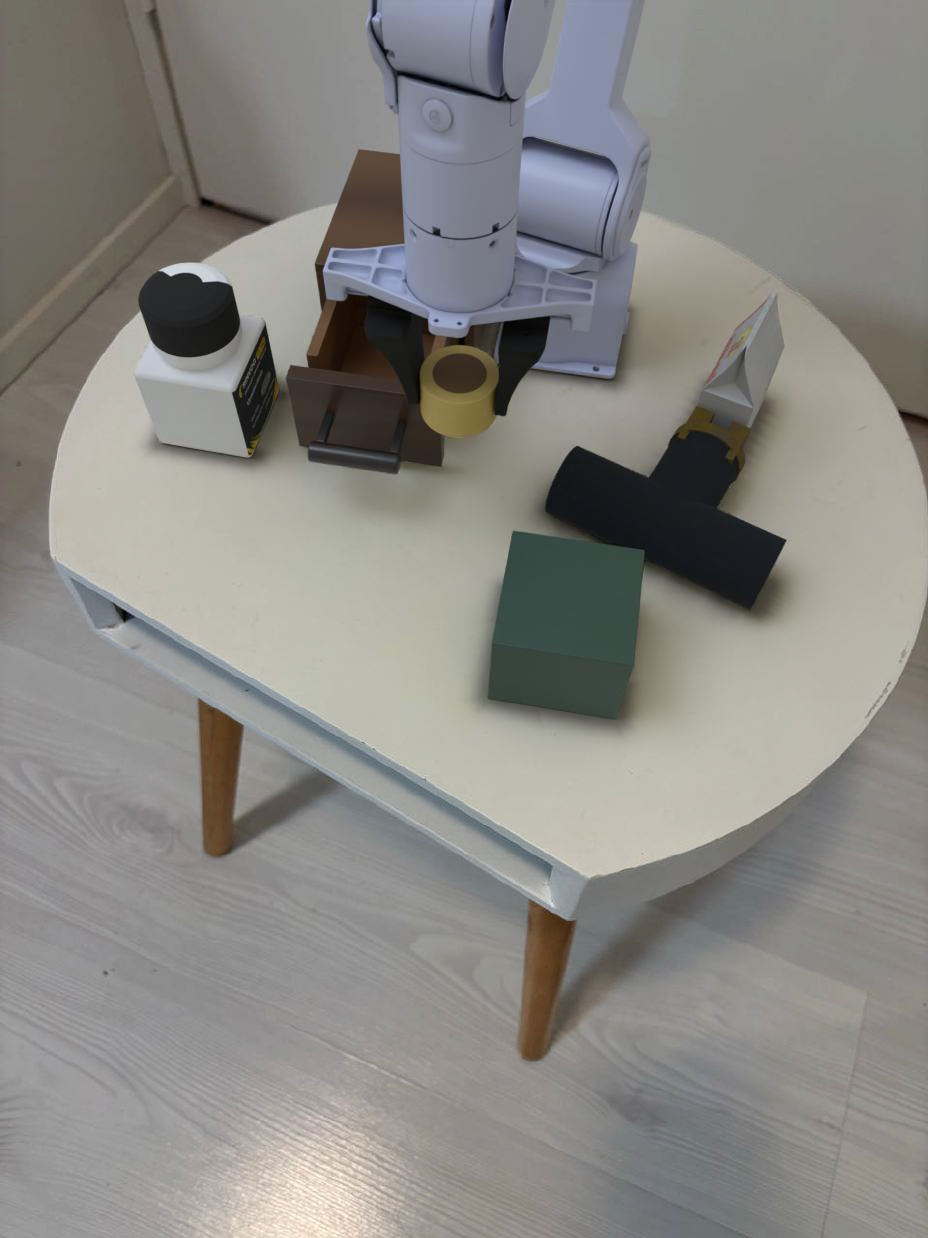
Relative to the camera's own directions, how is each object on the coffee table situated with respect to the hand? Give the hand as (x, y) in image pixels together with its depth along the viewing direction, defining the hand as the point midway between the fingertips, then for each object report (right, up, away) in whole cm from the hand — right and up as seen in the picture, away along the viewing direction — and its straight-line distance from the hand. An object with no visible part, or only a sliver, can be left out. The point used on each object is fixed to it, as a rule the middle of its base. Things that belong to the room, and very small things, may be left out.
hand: (458, 397), depth 59 cm
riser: (+6, -16, +3) cm, 17 cm away
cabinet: (-3, +12, +19) cm, 23 cm away
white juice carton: (+20, +1, +13) cm, 24 cm away
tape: (0, 0, +1) cm, 1 cm away
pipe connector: (+15, -6, +9) cm, 19 cm away
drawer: (-6, +2, +12) cm, 13 cm away
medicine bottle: (-18, +1, +13) cm, 22 cm away
